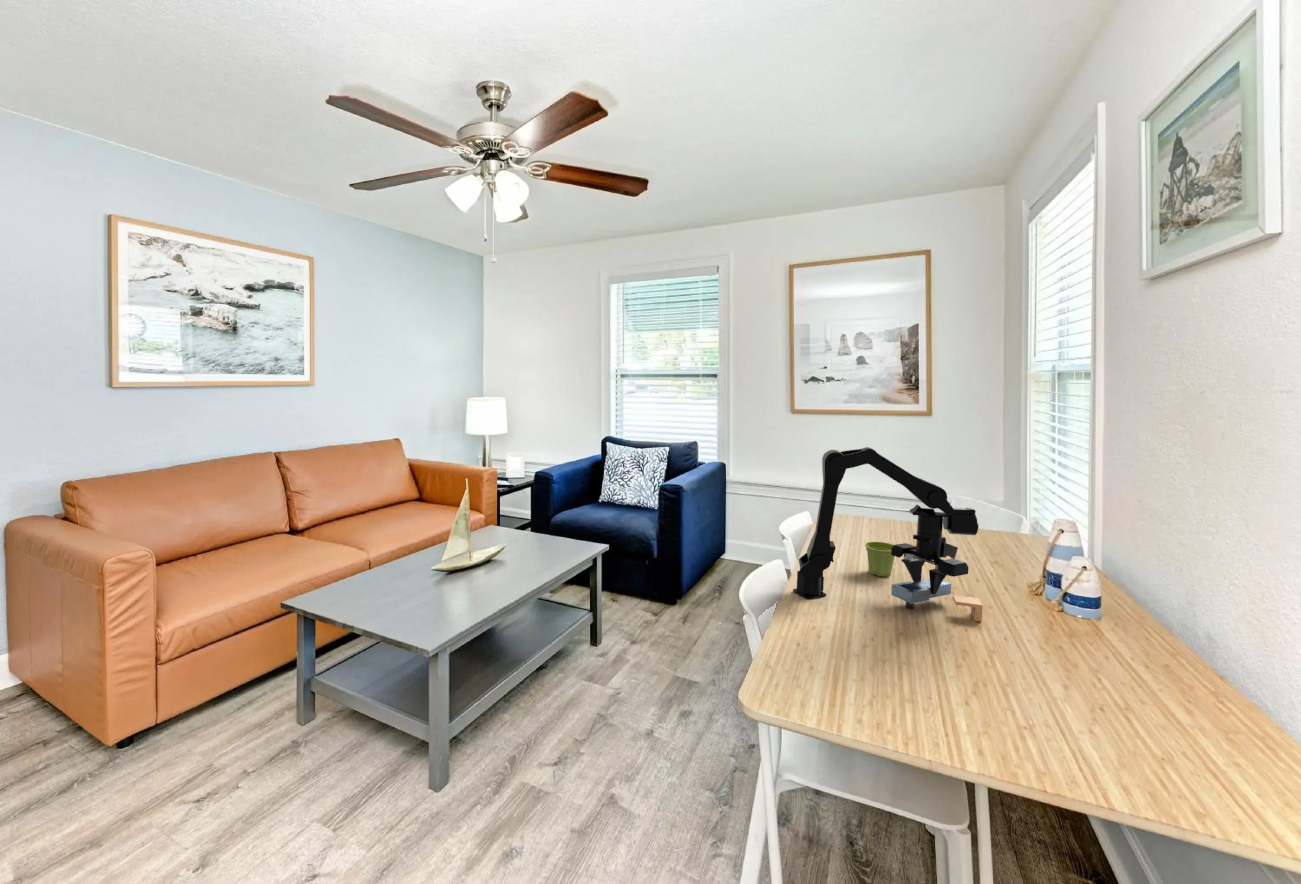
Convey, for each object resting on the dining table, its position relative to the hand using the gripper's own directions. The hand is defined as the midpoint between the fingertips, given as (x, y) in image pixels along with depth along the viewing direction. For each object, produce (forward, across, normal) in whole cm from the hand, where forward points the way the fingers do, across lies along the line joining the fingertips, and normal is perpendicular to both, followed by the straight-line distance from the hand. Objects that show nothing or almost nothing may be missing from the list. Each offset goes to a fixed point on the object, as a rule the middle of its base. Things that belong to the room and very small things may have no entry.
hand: (925, 590), depth 136 cm
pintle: (+4, 0, +6) cm, 7 cm away
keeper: (+4, -8, -3) cm, 10 cm away
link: (+1, 0, +1) cm, 1 cm away
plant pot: (+4, +22, -7) cm, 23 cm away
